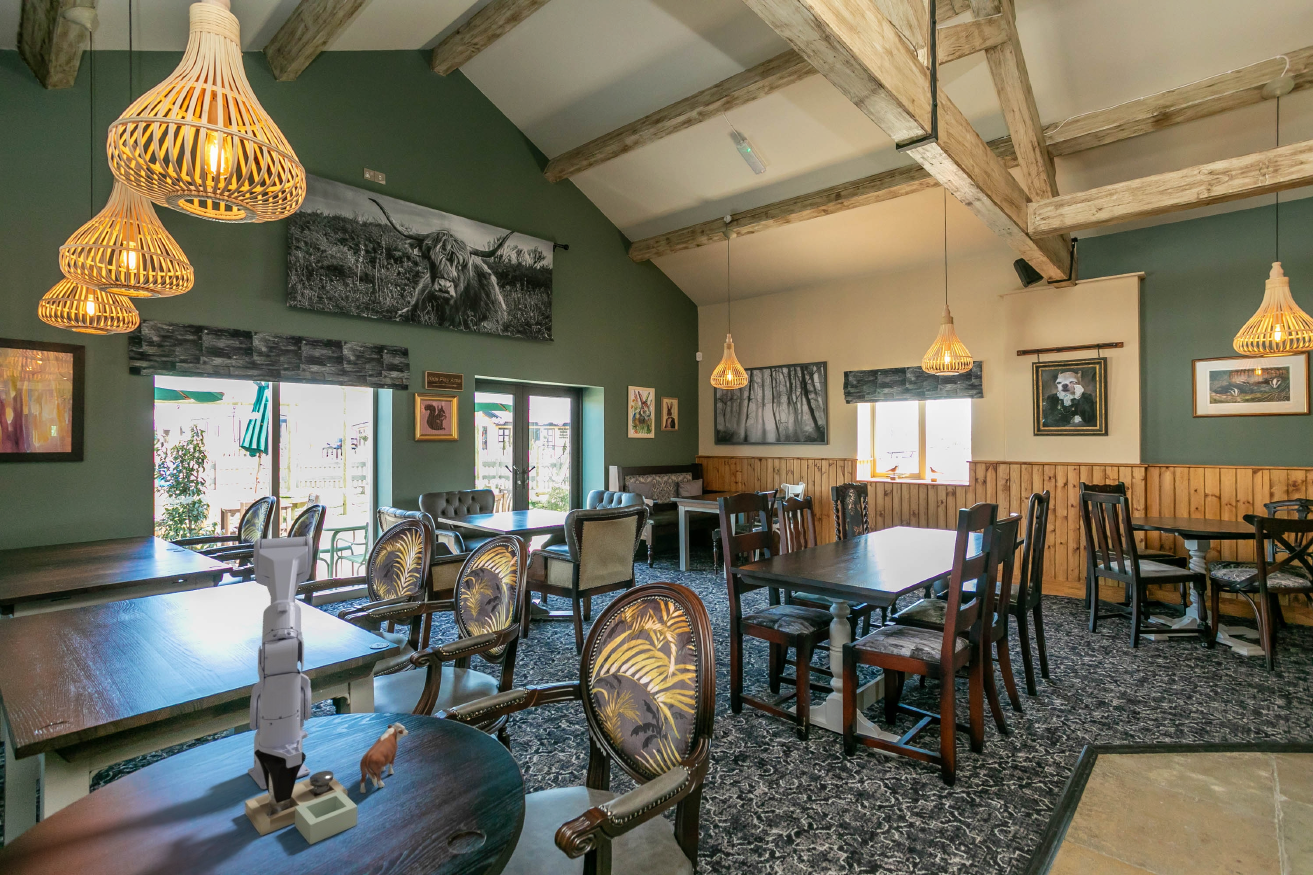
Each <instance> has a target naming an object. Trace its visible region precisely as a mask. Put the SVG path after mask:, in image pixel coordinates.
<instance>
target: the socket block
mask: <svg viewBox="0 0 1313 875" xmlns="http://www.w3.org/2000/svg"><path fill="white" fill-rule="evenodd" d="M313 789H314V786H311V785H310V778H307V779H304V780H301V781H299V782H295V785H294V789H293V793H292V796H291V798H290V809H287V810H284V811H282V812H279V813H276V814H274V815H271V816H268V815H269V793H268V792H267V793H265V794H264V793H263V794H261V795H258V796H256V797H253V798H250V799H247V800H245V802H244V805H245V806H244V813H245V815H246V816H247V818H248V819H249V821H250V822H251V824H252V825H253V827H254V828H255V829H256V831H257V832H258V834H259V835H260V836H264V835H267V834H269V833H272V832H275V831H277V830H279V829H283V828H284V827H287V826H290V825H293V824H295V807H297V806H300V805H303V804H305V803H308V802H310V801H313V800H316V799H318V798H321V797H324V796H326V795H329V794H332V793H334V792H337V791H340V790H341V791H342V792H343V793H344V794H345V795H346V796H347V797H348V789H347V788H346V787H345V786H343V785H342V784H341V783H340V782H339V781H338V780H337V779H336V778H334V776H333V780H332V781H331V782H330V783H329V792H327V793H324V794H321V795H319V796H316V797H314V796H313Z"/></svg>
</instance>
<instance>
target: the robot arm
mask: <svg viewBox="0 0 1313 875" xmlns="http://www.w3.org/2000/svg"><path fill="white" fill-rule="evenodd" d="M312 565H313V538H312V537H311V535H306V536H294V537H291V536H290V537H276V538H260V537H259V538H257V539H256V540H254V542H253V570H254V578H255V579H256V584H259V585H262V586H265V587H267V591H268V593H269V596H270V604H269V605H268V606H266V608H265V609H264V611H263V614H262V615H263V616H262V632H261V634H262V636H261V645H259V646H258V651H257V652H258V653H257V673H258V679H259V681H258V682H257V683H255V684H254V685H253V687H252V689H251V695H250V696H251V697H250V703H249V728H250V729H251V730H252V731H254V732H255V731H256V732H255V734H254V736H253V737H254V738H253V767H250V768H248V769H247V773H248V774H249V775H250V776H251V778H252V780H253V781H255V783H256V784H257V785H258V787H260V789H261V790H267V791H266V792H267V793H269V774H270V776H271V780H272V785H273V793H274V798H275V801H276V803H280V802H282V801H285V800H288V799H290V798H291V796H292V793H293V789H294V785H295V783H296V781H297V779H299V778H301V777H304V776H308V775H309V774H311V770H310V769H309V767H307V766H306V765H305V762H306V759H307V758H306V757H307V755H306V753H304V752H303V750H304V749H303V746H304V745H303V740H304V739H306V738H308V734H309V733H308V731H306V730H304V727H305V726H304V725H305V722H307V721H309V719H310V718H312V717H311V716H312V688H311V679H309V676H307V675H306V674H304V673H302V672H303V670H304V667H305V642H304V639H303V631H302V610H301V606H300V605H299V604H298V603H296V594H297V591H298V588H299V586H300V584H301V583H303V582H305V581H306V580H308V579H309V578H310V575H311V574H312V573H311V572H312ZM298 663H300V668H301V669H299V668H298V666H299V665H298Z"/></svg>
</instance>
